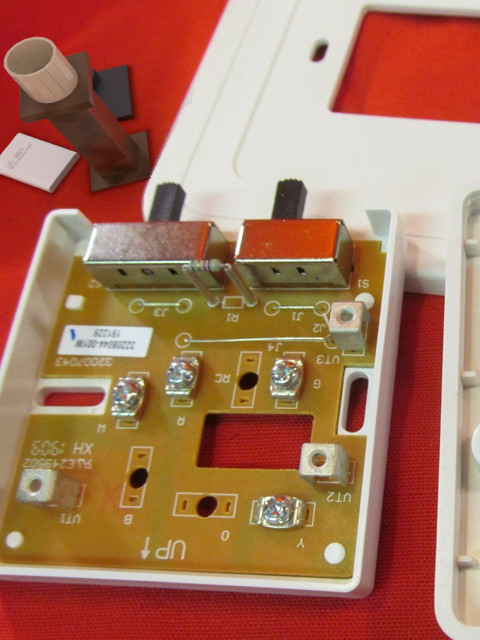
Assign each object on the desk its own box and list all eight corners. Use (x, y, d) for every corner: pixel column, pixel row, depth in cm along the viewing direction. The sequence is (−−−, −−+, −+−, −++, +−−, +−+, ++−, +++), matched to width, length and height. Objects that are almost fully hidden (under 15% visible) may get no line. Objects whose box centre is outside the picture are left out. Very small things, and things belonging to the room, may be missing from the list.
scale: (73, 135, 119) (62, 123, 117) (70, 81, 124) (59, 68, 121) (135, 119, 120) (126, 107, 117) (130, 66, 125) (121, 53, 122)
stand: (94, 194, 115) (19, 118, 98) (91, 148, 118) (18, 67, 101) (153, 179, 115) (89, 100, 98) (148, 134, 119) (85, 51, 102)
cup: (28, 108, 98) (3, 82, 94) (28, 71, 101) (3, 44, 96) (79, 96, 99) (56, 69, 94) (77, 59, 101) (55, 31, 97)
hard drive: (54, 195, 115) (-4, 173, 117) (82, 157, 118) (24, 137, 120) (47, 189, 113) (-12, 167, 116) (76, 151, 116) (18, 131, 118)
